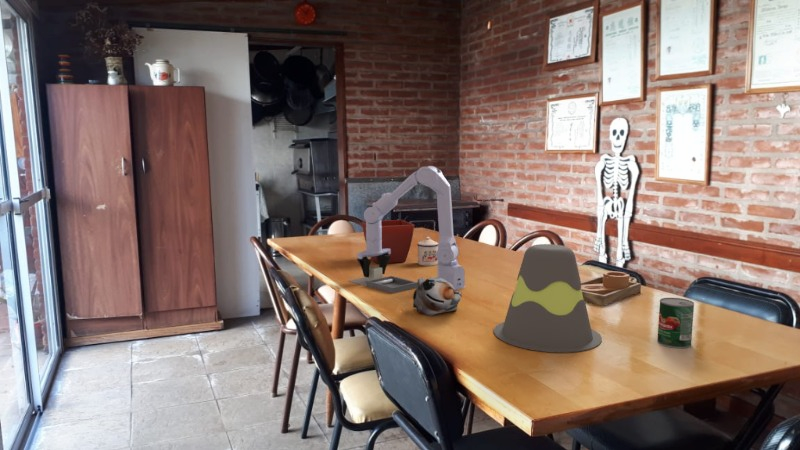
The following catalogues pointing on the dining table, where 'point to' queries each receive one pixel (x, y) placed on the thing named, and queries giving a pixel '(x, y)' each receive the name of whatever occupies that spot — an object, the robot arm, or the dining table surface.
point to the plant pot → (395, 239)
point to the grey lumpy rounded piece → (435, 296)
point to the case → (391, 284)
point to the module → (374, 273)
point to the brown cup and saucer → (608, 283)
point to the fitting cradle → (609, 297)
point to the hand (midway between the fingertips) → (374, 275)
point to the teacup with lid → (427, 252)
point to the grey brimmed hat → (548, 304)
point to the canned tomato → (675, 322)
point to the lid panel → (359, 281)
